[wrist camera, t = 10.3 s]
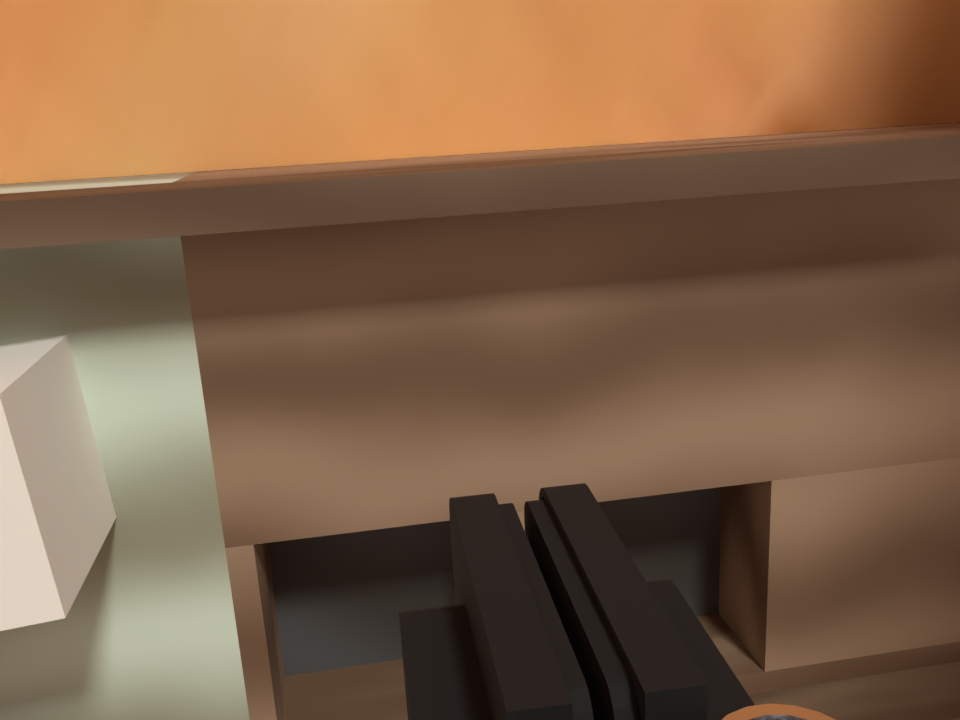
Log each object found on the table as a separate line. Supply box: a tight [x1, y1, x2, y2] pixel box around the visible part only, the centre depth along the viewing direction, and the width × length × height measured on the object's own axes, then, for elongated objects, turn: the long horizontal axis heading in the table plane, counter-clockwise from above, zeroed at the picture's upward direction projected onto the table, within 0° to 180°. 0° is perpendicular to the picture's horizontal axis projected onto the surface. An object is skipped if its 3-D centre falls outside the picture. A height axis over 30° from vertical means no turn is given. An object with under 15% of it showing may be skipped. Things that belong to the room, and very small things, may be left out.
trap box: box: [0, 123, 960, 720], centre depth 26 cm, size 18×36×6 cm, turn 93°
